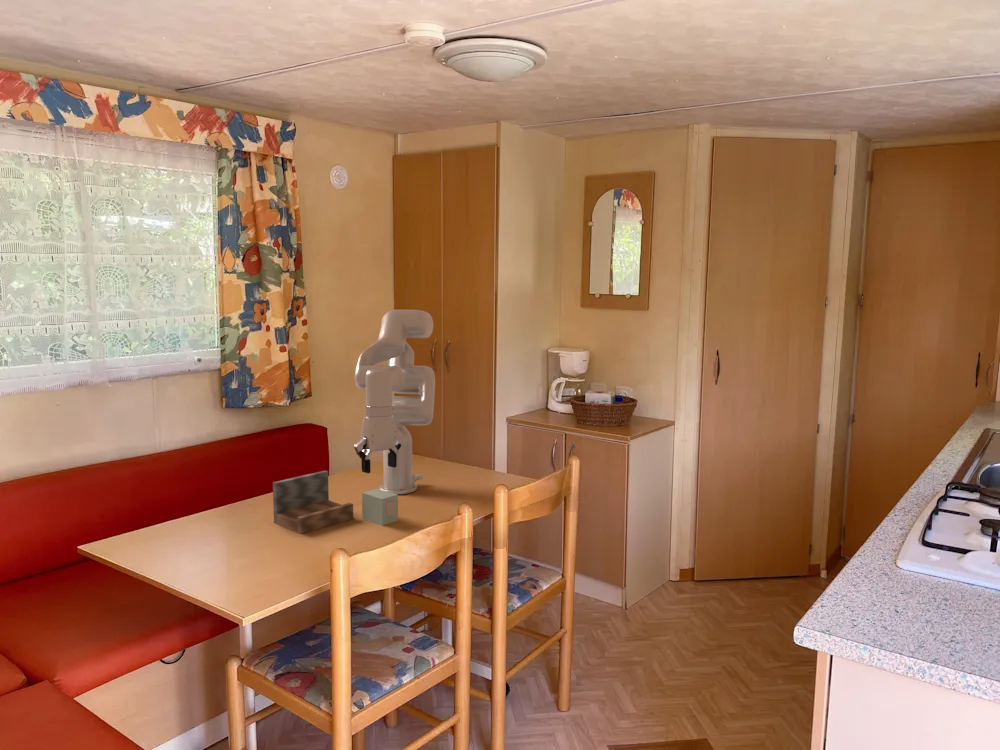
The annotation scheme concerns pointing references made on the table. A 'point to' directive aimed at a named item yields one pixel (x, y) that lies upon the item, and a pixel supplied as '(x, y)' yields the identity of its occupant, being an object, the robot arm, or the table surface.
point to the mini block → (380, 506)
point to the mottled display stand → (307, 503)
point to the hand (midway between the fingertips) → (379, 469)
